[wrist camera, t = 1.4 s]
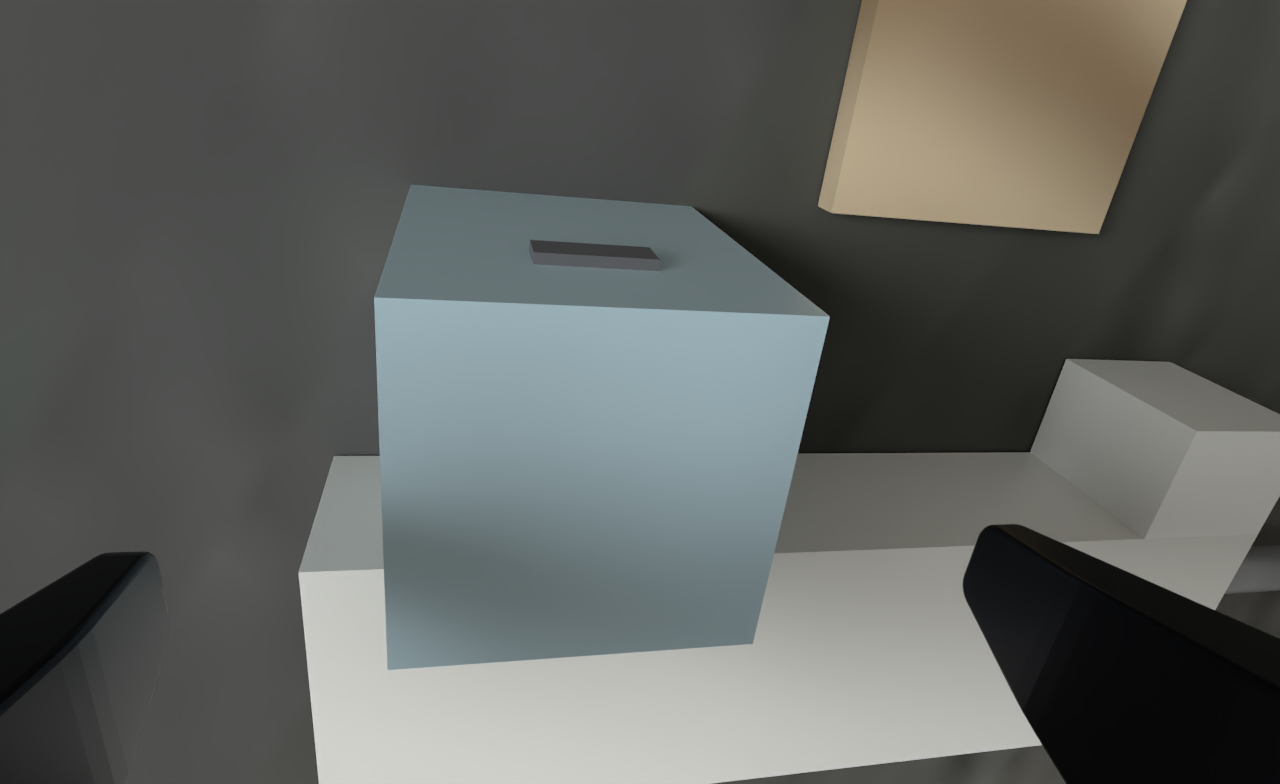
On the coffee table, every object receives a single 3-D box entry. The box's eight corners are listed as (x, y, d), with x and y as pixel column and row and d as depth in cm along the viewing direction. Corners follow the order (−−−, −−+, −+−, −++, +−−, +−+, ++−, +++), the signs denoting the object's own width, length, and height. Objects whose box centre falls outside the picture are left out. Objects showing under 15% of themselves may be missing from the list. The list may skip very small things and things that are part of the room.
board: (1077, 226, 16) (1098, 234, 15) (817, 206, 14) (831, 213, 14) (1200, -109, 13) (1230, -115, 13) (899, -175, 12) (920, -185, 11)
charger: (644, 524, 17) (727, 750, 12) (415, 531, 16) (391, 786, 10) (691, 197, 14) (832, 304, 9) (410, 174, 13) (374, 282, 7)
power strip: (1212, 619, 23) (1333, 716, 20) (348, 683, 17) (321, 836, 14) (1355, 367, 19) (1532, 435, 16) (326, 336, 13) (282, 434, 10)
